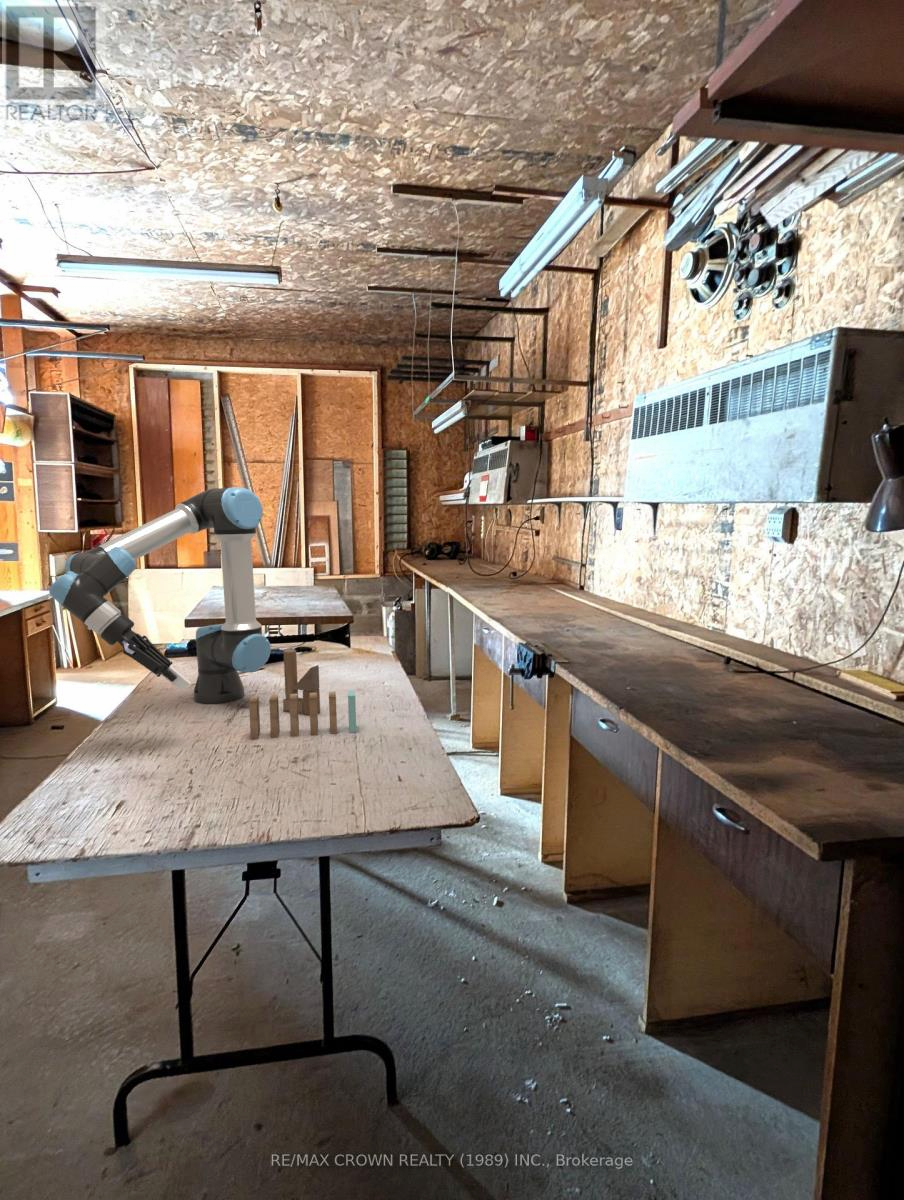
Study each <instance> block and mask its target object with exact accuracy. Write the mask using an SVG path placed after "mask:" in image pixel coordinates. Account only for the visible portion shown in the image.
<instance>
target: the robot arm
mask: <svg viewBox="0 0 904 1200" xmlns="http://www.w3.org/2000/svg"><path fill="white" fill-rule="evenodd" d="M263 514H264V510H263V505H262V502H261V500H260V498H259V496H257V495H256V494H255V493H254V491H251V489H248V488H245V487H236V486H234V487H233V486H232V487H222V488H219V487H218V488H210V489H207V490H204V491H202V492H199V493H197V494H196V495H194V496H191V497H189V498H188V499H185V500H183V501H181V502H179V503H178V504H176V506H175V508H174V510H172V511H169V512H167V513H164V514H163V515H160V516H159V517H157V518H155V519H153V520H150V521H148V522H146V523H144V524H142V525H140V526H138V527H136V528H133V529H132V530H129V531H128V532H125V533H123V534H121V535H118V536H116V537H115V538H113V539H111V540H109V541H107V542H104V543H102V544H100V545H98V546H96V547H93V548H92V549H89V550H87V551H85V552H78V553H74V554H72V555H70V556H69V557H67V559H66V561H65V564H64V568H65V569H64V570H65V573H64V574H61V576H59V577H58V578H57V579H56V580H55V581H54V582H53V583H52V584H51V585H50V587H49V591H48V592H49V595H50V596H51V597H52V598H53V599H54V600H55V601H56V602H57V603H59V604H60V605H61V607H63V608H64V609H66V611H68V612H69V613H70V614H72V615H73V616H74V617H75V618H77V619H78V620H80V621H81V622H82V624H85V626H87V630H88V631H91V630H92V631H93V632H94V633H95V634H98V635H99V634H100V636H99V637H100V638H101V639H102V640H103V641H105V642H106V643H107V644H108V645H110V646H114V645H115V644H117V643H118V644H119V645H120V646H121V648H122V649H123V651H122V653H123V655H125V656H127V657H129V658H131V659H132V660H134V661H135V662H137V663H139V664H140V665H141V666H142V667H144V668H146V669H147V670H149V671H150V672H151V673H153V674H154V675H156V677H158V678H160V677H161V676H162V677H163V678H165V679H166V680H167V681H168V682H170V684H172V685H173V686H175V687H176V688H177V689H178V690H179V691H181V692H184V691H185V690H186V689H187V688H188V686H189V685H191V681H190V680H189V679H188V678H186V676H184V675H183V674H181V673H180V672H179V671H178V670H177V669H175V668H174V667H173V666H172V665H173V662H172V661H171V660H170V659H169V658H168V657H167V656H166V655H164V654H163V653H162V651H161V650H159V649H158V648H157V646H155V645H154V644H153V643H152V641H150V639H149V638H148V636H146V635H141V634H140V633H137V632H135V631H134V630H132V628H133V627H134V626H135V622H134V621H133V620H132V619H130V618H129V617H128V616H127V615H125V614H122V612H121V610H120V609H119V608H117V606H115V605H114V604H113V603H112V602H110V601H109V600H108V599H106V598H105V596H107V594H109V593H110V592H111V591H113V590H114V589H115V588H116V587H117V586H118V585H119V584H121V583H122V582H123V581H124V580H125V579H127V578H129V577H130V576H131V574H132V573H133V572H134V571H135V570H136V569H137V562H136V560H139V559H140V558H142V557H144V556H146V555H147V554H150V553H152V552H154V551H156V550H158V549H160V548H162V547H163V546H165V545H167V544H169V543H171V542H173V541H176V540H177V539H179V538H181V537H184V536H186V535H187V534H191V535H195V534H197V533H199V532H201V531H204V530H209V529H213V534H214V536H215V538H217V539H218V540H219V541H220V553H221V554H220V556H221V566H222V567H221V569H222V570H221V571H222V586H223V601H224V613H225V614H224V615H225V622H224V623H219V624H217V623H216V624H211V625H206V626H200V627H198V628H197V629H196V631H195V644H196V659H197V661H196V662H197V678H196V682H195V685H194V688H193V701H195V702H196V703H199V704H221V703H228V702H233V701H236V700H239V699H241V698H243V697H244V696H245V687H244V684H243V681H242V679H241V677H240V674H239V673H254V672H257V671H259V670H260V669H262V668H263V667H264V666H265V664H266V663H267V662H268V661H269V658H270V655H271V649H272V648H271V643H270V641H269V639H268V638H267V637H266V636H265V635H263V628H262V623H260V622H259V621H258V620H257V616H256V599H255V598H256V596H255V595H256V594H255V583H254V565H253V550H252V549H253V548H252V540H253V538H254V537H255V536H256V535H257V526H258V525H260V521H262V519H263Z"/></svg>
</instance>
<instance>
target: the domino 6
mask: <svg viewBox="0 0 904 1200" xmlns="http://www.w3.org/2000/svg"><path fill="white" fill-rule="evenodd" d="M356 703H357V702H356V692H355V690H354V689H353V690H352V689H351V690H347V706H348V730H349V733H357V714H356V713H357V712H356V708H357V707H356Z"/></svg>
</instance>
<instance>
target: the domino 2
mask: <svg viewBox="0 0 904 1200" xmlns="http://www.w3.org/2000/svg"><path fill="white" fill-rule="evenodd" d="M269 697H270V698H269V700H268V701H269V703H268V704H269V722H270V725H269V726H270V738H271V739H277V738H279V736H280V733H281V732H280V731H281V729H280V728H281V727H280V710H279V709H280V708H279V707H280V706H279V694H270V696H269Z"/></svg>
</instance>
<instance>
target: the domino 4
mask: <svg viewBox="0 0 904 1200" xmlns="http://www.w3.org/2000/svg"><path fill="white" fill-rule="evenodd" d="M309 706H310V715H309V723H310V724H309V725H310V726H309V727H310V728H309V729H310V736H318V735H319V720H318V719H319V718H318V717H319V716H318V714H319V713H317V693H310V696H309Z"/></svg>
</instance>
